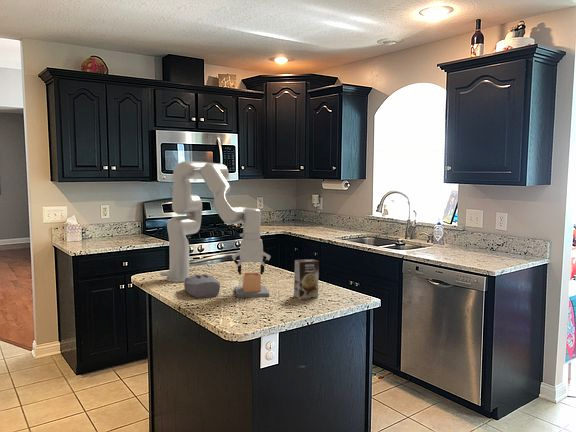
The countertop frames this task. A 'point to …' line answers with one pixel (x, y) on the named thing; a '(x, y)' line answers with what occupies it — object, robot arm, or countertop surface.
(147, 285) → the countertop surface
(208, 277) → the soft grey pack
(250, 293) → the gray plate with knob
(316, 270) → the coffee box
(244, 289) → the orange cube cubby
